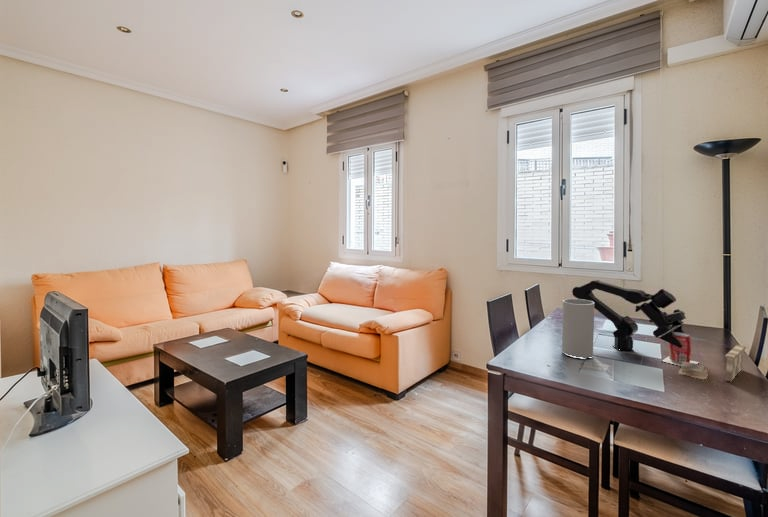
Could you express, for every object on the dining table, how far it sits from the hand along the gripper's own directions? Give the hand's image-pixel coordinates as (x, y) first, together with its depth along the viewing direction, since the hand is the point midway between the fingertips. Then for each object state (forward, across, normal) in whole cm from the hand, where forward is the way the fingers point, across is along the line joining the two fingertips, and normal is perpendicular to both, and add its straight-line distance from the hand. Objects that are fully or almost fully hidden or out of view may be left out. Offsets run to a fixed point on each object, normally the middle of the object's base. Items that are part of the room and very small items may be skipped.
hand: (685, 345), depth 148 cm
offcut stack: (+10, -12, +2) cm, 16 cm away
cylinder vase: (-17, -24, +29) cm, 41 cm away
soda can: (+4, 0, +7) cm, 8 cm away
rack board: (+16, 0, -5) cm, 17 cm away
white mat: (+5, 0, +7) cm, 8 cm away
